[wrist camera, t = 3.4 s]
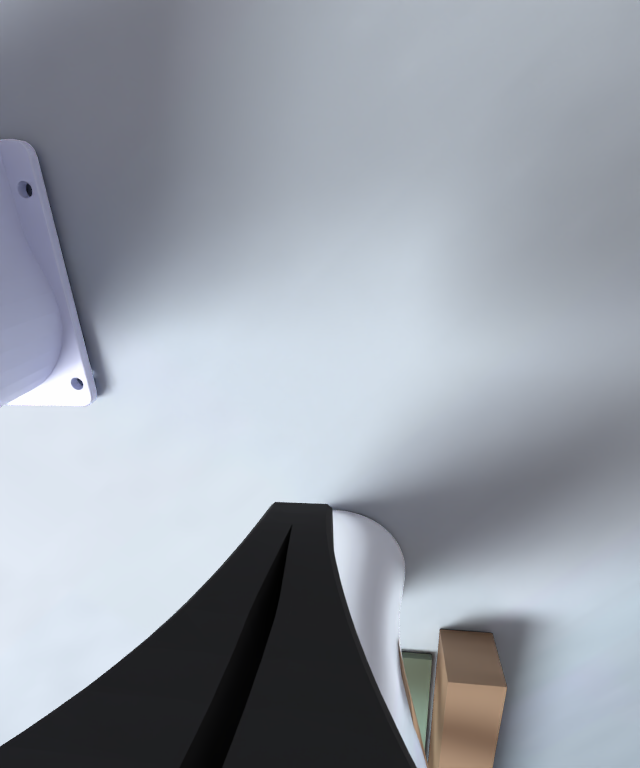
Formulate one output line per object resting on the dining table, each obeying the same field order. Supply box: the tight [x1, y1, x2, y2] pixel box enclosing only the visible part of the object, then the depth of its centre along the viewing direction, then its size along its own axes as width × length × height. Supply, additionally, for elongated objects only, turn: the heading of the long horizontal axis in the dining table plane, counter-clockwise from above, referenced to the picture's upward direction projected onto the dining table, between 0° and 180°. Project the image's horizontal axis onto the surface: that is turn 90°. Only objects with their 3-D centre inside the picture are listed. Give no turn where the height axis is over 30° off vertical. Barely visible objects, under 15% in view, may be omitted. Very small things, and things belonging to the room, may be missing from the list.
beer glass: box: [333, 510, 428, 768], centre depth 13 cm, size 7×7×15 cm
